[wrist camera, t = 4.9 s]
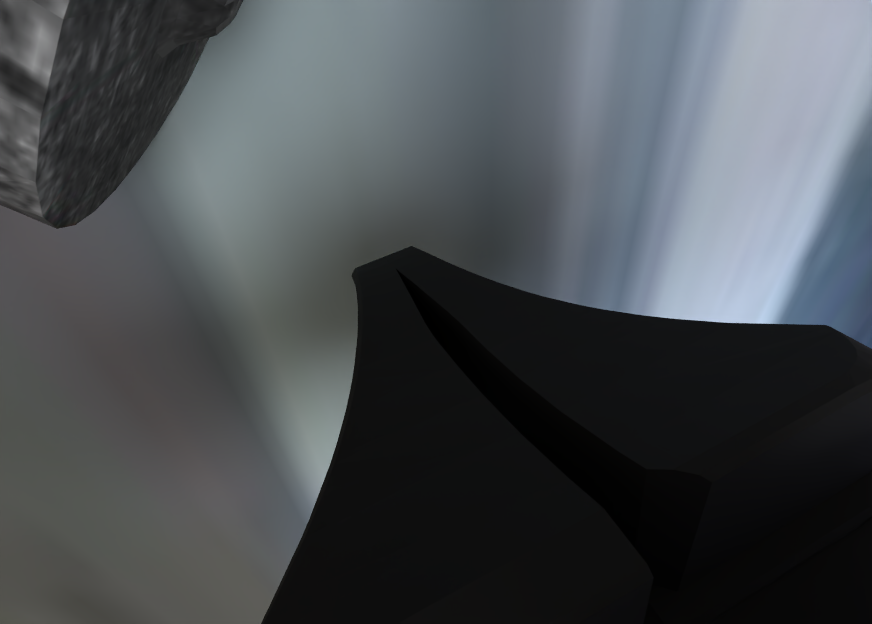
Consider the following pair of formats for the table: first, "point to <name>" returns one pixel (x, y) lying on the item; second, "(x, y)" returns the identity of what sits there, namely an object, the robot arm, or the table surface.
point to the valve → (90, 93)
